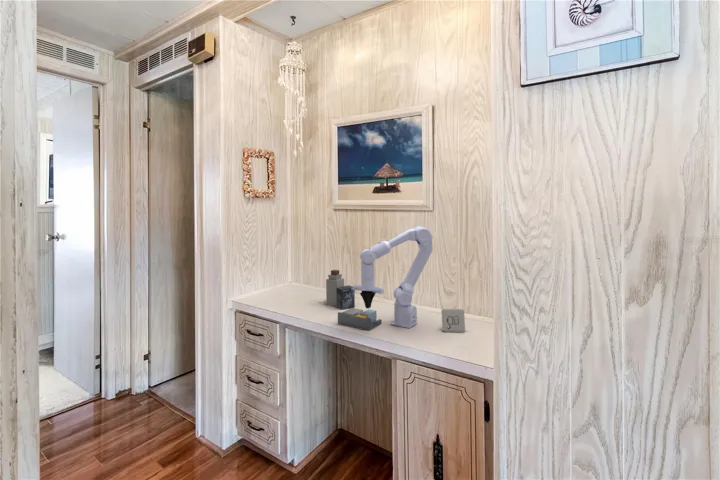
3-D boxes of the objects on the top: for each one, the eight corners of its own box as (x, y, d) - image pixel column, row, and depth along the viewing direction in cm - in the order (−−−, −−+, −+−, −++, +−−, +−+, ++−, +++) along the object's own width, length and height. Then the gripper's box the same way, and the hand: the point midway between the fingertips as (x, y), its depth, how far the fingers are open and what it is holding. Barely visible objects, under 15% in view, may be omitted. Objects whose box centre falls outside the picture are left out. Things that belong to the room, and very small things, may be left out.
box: (342, 310, 185) (341, 289, 184) (336, 307, 190) (336, 287, 189) (355, 307, 190) (354, 287, 189) (349, 304, 194) (349, 285, 193)
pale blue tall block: (376, 323, 165) (376, 310, 164) (368, 328, 159) (368, 314, 159) (368, 322, 167) (368, 309, 167) (360, 326, 161) (360, 313, 161)
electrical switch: (442, 332, 154) (442, 310, 153) (440, 329, 159) (440, 307, 159) (465, 332, 153) (465, 310, 153) (462, 329, 158) (462, 307, 158)
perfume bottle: (344, 303, 197) (344, 270, 195) (337, 306, 191) (336, 272, 189) (334, 301, 201) (333, 268, 199) (326, 304, 195) (325, 270, 193)
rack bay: (381, 323, 164) (381, 311, 164) (369, 330, 156) (369, 318, 155) (350, 317, 174) (350, 306, 173) (337, 323, 165) (337, 311, 164)
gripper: (348, 277, 161) (349, 307, 163) (377, 280, 153) (377, 312, 155) (357, 274, 167) (358, 303, 169) (385, 277, 159) (386, 308, 161)
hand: (368, 307), depth 162 cm, fingers closed
